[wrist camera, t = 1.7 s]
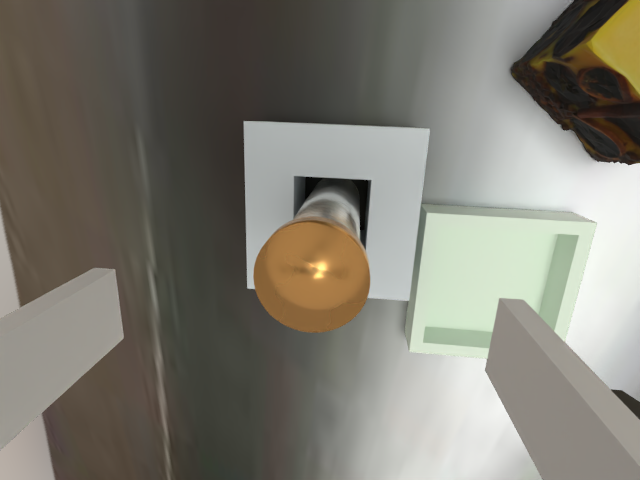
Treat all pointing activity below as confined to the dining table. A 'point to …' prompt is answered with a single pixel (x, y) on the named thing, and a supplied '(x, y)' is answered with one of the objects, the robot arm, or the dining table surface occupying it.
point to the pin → (316, 262)
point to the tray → (491, 273)
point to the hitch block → (348, 163)
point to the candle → (591, 76)
